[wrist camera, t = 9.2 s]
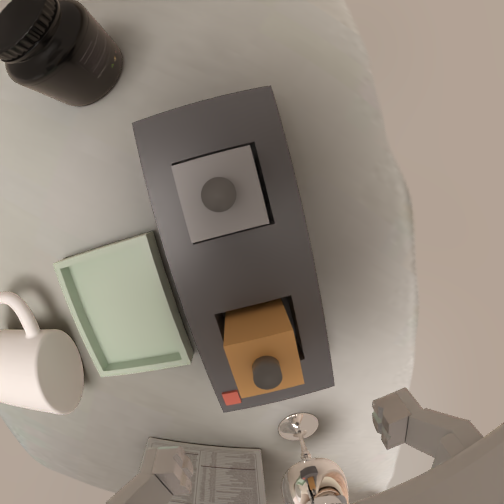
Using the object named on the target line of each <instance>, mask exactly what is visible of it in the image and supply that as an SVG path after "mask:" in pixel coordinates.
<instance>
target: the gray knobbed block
mask: <svg viewBox="0 0 504 504" xmlns="http://www.w3.org/2000/svg"><path fill="white" fill-rule="evenodd" d="M171 168H172V172H173V176H174V180H175V184H176V187H177V191H178V195H179V199H180V203H181V206H182V210H183V214H184V218H185V221H186V225H187V228H188V232H189V236H190V239H191V243H195V242H199V241H202V240H206V239H210V238H214V237H218V236H221V235H225V234H229V233H233V232H237V231H241V230H245V229H249V228H253V227H257V226H261V225H265V224H269V219H268V215H267V211H266V207H265V203H264V199H263V195H262V191H261V187H260V183H259V179H258V175H257V171H256V167H255V163H254V159H253V155H252V151H251V147H250V145H248V146H244V147H239V148H235V149H231V150H227V151H223V152H220V153H216V154H212V155H208V156H205V157H201V158H197V159H194V160H190V161H187V162H184V163H180V164H177V165H174V166H171Z"/></svg>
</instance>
